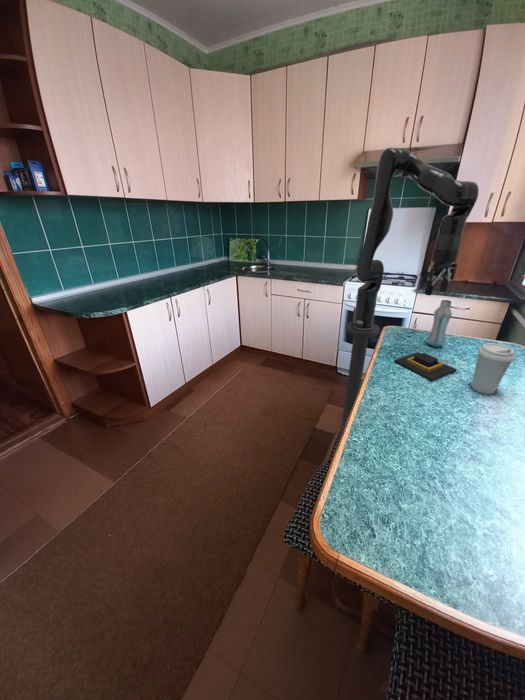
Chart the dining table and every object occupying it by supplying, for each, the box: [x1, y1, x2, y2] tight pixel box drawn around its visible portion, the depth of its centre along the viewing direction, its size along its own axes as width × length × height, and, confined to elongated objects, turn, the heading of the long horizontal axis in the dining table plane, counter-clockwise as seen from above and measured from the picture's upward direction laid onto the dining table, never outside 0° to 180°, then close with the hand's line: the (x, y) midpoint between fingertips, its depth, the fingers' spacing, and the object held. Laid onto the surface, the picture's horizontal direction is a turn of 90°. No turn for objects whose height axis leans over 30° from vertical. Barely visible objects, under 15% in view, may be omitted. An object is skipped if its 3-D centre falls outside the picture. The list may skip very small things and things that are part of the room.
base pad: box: [393, 352, 457, 382], centre depth 110 cm, size 16×14×2 cm
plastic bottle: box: [427, 299, 453, 348], centre depth 123 cm, size 6×7×20 cm
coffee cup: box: [470, 342, 516, 395], centre depth 94 cm, size 10×10×15 cm
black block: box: [414, 352, 439, 368], centre depth 110 cm, size 6×6×3 cm
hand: (435, 293), depth 108 cm, fingers open, 8 cm apart
